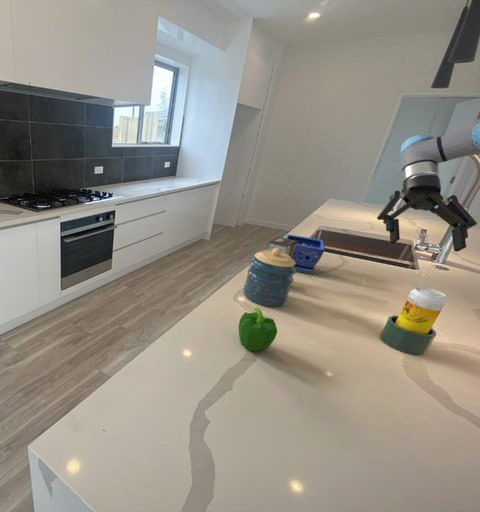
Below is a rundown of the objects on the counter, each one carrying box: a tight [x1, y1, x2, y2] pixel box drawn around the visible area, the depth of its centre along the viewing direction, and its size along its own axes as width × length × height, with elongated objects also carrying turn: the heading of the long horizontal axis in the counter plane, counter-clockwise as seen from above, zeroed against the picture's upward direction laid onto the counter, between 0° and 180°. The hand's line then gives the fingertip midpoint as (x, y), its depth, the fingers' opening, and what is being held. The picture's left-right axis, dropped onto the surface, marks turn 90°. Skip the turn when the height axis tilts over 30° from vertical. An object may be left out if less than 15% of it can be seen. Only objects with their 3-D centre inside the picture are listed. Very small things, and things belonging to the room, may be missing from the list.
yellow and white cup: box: [395, 286, 447, 335], centre depth 76 cm, size 6×6×15 cm
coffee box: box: [266, 236, 297, 258], centre depth 108 cm, size 9×6×16 cm
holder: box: [379, 315, 437, 356], centre depth 78 cm, size 9×9×6 cm
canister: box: [242, 248, 297, 308], centre depth 96 cm, size 13×13×18 cm
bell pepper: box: [238, 306, 278, 352], centre depth 74 cm, size 8×8×10 cm
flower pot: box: [285, 234, 326, 274], centre depth 121 cm, size 13×13×12 cm
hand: (426, 245), depth 81 cm, fingers open, 13 cm apart
